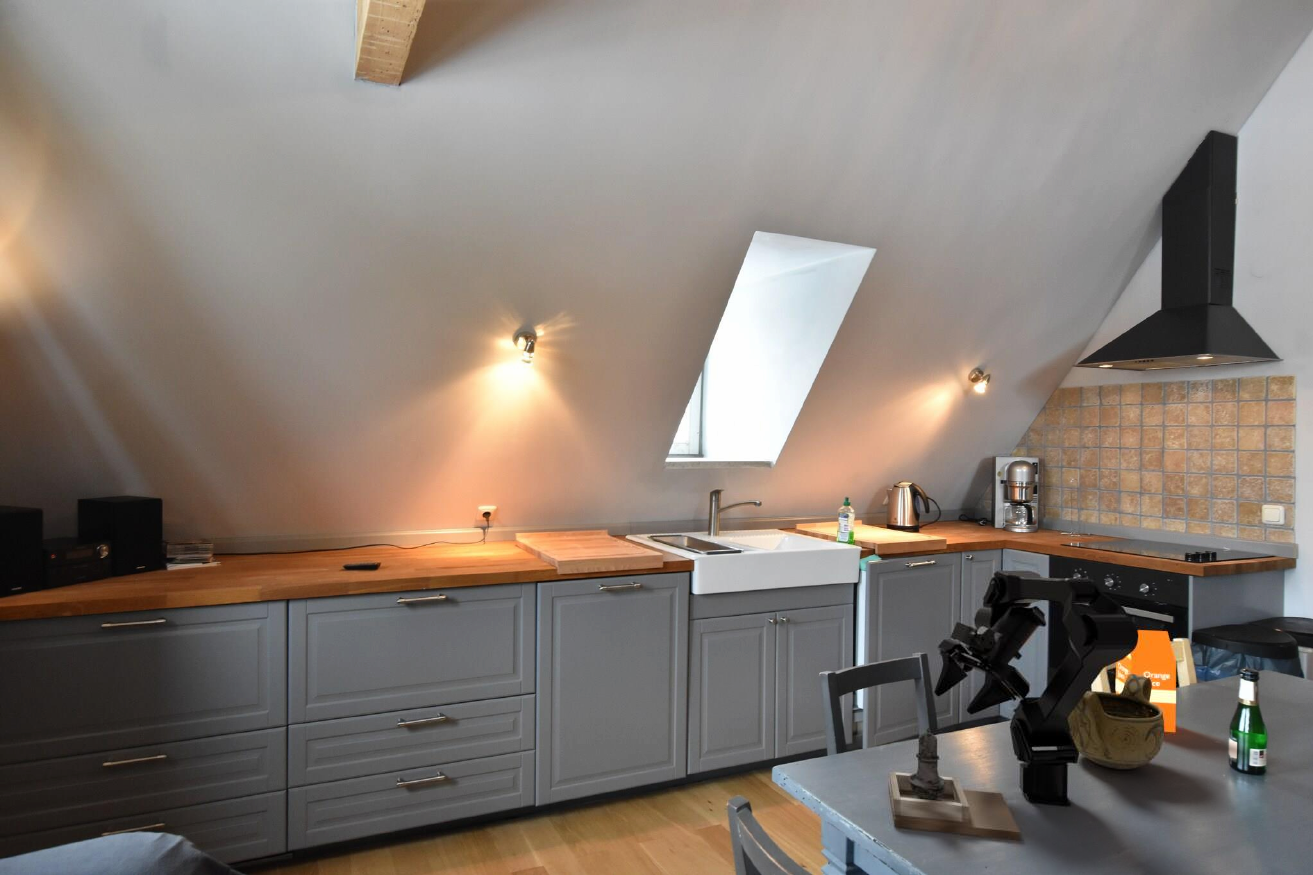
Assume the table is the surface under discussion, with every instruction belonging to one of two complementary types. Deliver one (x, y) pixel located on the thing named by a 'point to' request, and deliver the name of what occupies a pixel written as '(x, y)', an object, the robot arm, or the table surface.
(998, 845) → the table surface
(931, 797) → the salt shaker
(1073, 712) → the ceramic bowl
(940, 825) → the board
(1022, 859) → the table surface
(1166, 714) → the orange juice
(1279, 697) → the table surface
